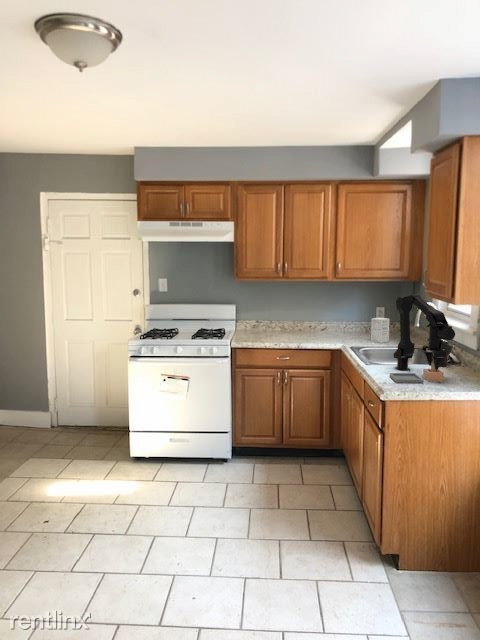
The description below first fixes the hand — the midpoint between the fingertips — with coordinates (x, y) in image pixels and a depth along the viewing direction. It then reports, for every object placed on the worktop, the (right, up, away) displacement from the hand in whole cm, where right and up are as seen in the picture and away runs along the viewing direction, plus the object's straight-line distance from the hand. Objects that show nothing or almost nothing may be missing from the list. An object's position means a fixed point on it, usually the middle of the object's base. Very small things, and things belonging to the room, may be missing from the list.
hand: (433, 367), depth 247 cm
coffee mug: (+17, -2, +32) cm, 36 cm away
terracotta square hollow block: (0, -6, +1) cm, 6 cm away
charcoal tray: (-14, -6, -1) cm, 15 cm away
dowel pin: (0, -6, +1) cm, 6 cm away
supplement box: (+4, +8, +108) cm, 108 cm away
